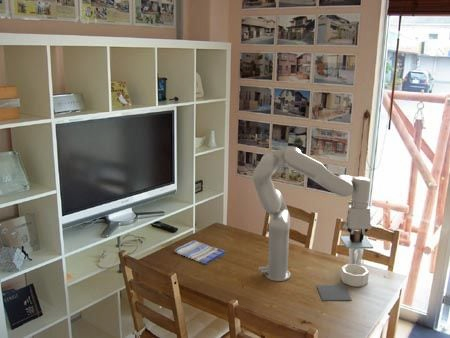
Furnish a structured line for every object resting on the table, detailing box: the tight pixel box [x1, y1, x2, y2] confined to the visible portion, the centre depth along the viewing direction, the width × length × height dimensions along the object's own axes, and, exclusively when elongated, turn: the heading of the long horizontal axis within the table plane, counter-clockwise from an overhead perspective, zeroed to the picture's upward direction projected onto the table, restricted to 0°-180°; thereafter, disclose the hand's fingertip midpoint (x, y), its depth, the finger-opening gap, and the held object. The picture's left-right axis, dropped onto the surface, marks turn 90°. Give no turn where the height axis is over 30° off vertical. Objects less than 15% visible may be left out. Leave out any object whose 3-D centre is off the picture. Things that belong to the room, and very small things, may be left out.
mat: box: [316, 284, 353, 302], centre depth 212 cm, size 13×13×1 cm
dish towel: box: [173, 239, 226, 265], centre depth 251 cm, size 17×24×3 cm
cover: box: [339, 229, 374, 250], centre depth 216 cm, size 12×12×6 cm
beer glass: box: [348, 249, 364, 266], centre depth 233 cm, size 7×7×15 cm
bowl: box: [340, 263, 370, 288], centre depth 222 cm, size 12×12×6 cm
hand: (356, 240), depth 217 cm, fingers closed on cover, 3 cm apart
